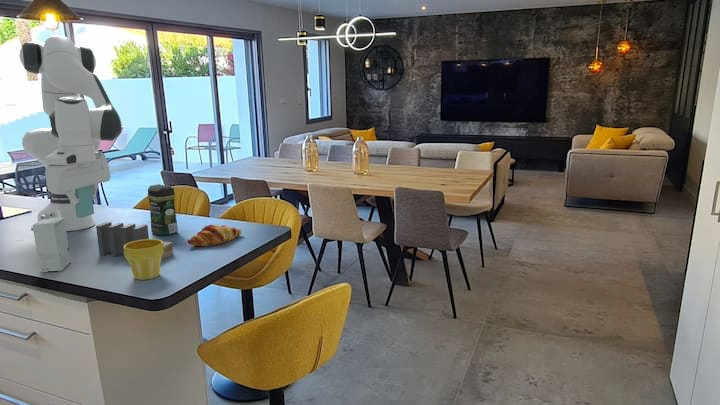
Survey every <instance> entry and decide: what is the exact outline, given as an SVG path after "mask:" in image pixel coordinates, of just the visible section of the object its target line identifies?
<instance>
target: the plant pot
mask: <svg viewBox="0 0 720 405" xmlns="http://www.w3.org/2000/svg"><path fill="white" fill-rule="evenodd" d="M163 242H164V241H163V240H161V239H157V238H149V239H143V240H137V241H133V242H129V243H127V244H125V245H124V247H123V248H124V254H123V256H124V255H125V258H124V259H126V260H127V262H128V264H129V267H130V269H131V273H132V275H133V277H134V279H135V280H138V281H145V280H151V279H155V278H157V277H159V275H160V270H161V264H162V263H161V262H162V260H161V257H162V254H163V253H164V245H163Z"/></svg>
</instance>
